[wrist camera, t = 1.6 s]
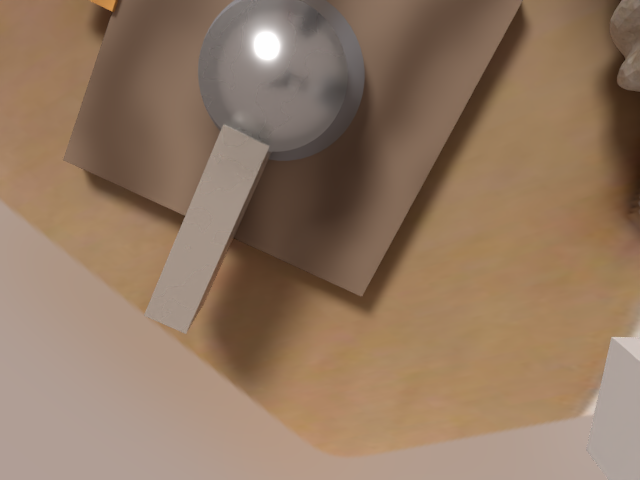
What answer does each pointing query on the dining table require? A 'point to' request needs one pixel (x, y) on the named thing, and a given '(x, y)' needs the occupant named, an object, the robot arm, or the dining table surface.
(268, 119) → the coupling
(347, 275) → the mount
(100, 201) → the dining table surface
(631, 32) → the seashell
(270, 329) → the dining table surface
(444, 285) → the dining table surface
